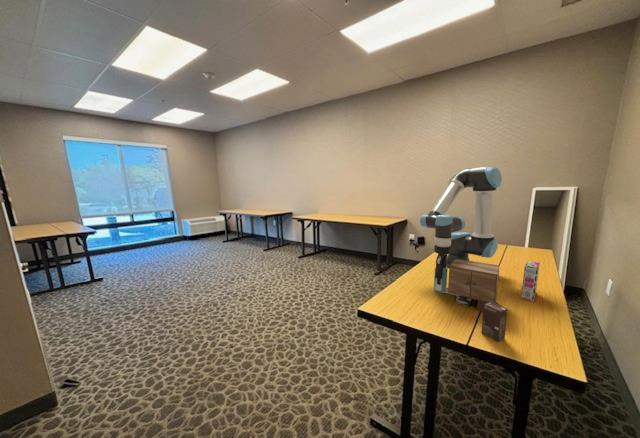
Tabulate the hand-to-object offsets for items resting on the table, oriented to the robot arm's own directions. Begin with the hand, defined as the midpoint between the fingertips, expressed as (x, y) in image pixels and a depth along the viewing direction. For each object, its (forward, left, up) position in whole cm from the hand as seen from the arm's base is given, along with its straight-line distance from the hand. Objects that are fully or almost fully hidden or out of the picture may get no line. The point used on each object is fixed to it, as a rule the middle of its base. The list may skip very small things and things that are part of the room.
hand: (440, 288), depth 128 cm
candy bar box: (-19, +36, -2) cm, 41 cm away
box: (+30, +25, -1) cm, 39 cm away
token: (+8, +12, -2) cm, 15 cm away
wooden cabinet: (+5, +15, -1) cm, 16 cm away
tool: (0, +7, -1) cm, 7 cm away
